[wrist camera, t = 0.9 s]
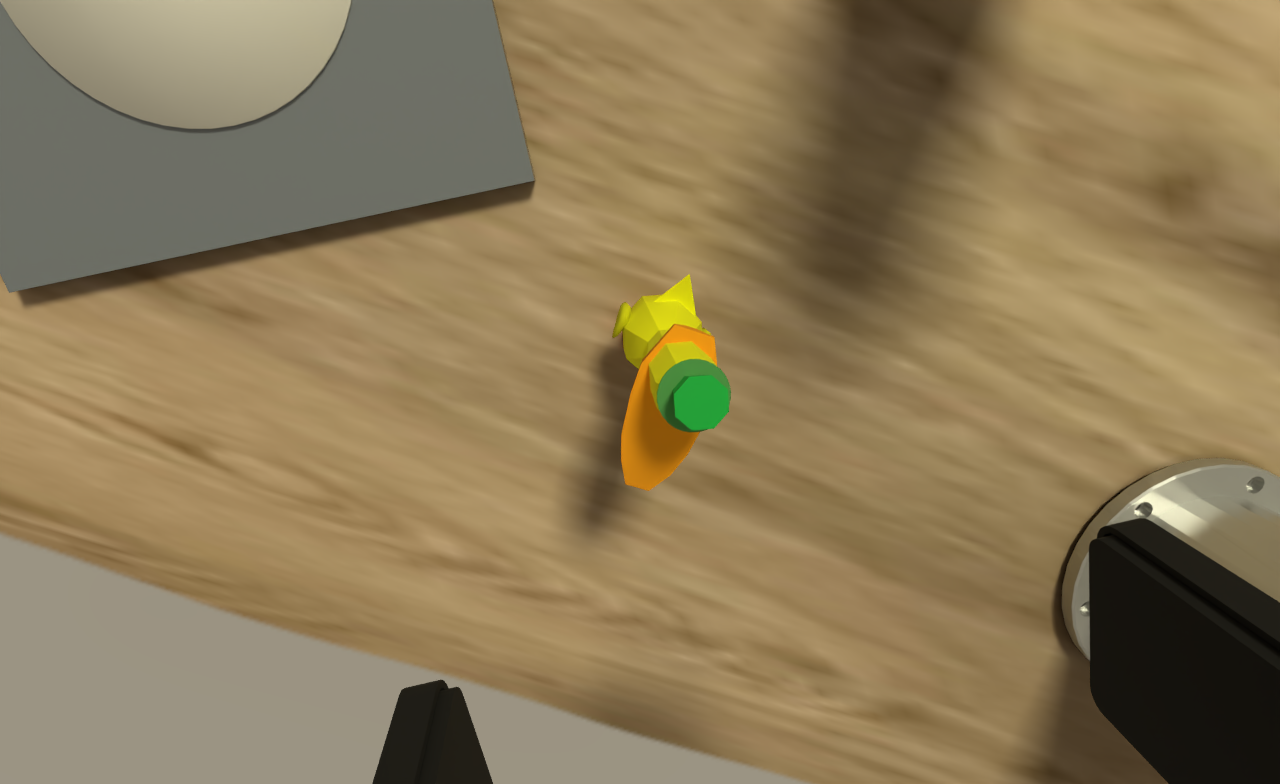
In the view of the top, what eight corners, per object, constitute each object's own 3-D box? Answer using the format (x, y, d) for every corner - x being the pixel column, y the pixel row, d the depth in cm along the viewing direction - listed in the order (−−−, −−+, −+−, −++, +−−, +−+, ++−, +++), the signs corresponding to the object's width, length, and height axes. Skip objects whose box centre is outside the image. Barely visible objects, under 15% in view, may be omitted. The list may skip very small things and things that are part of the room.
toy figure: (657, 417, 33) (704, 556, 22) (579, 393, 33) (587, 523, 21) (711, 271, 32) (794, 339, 20) (631, 243, 31) (669, 297, 19)
